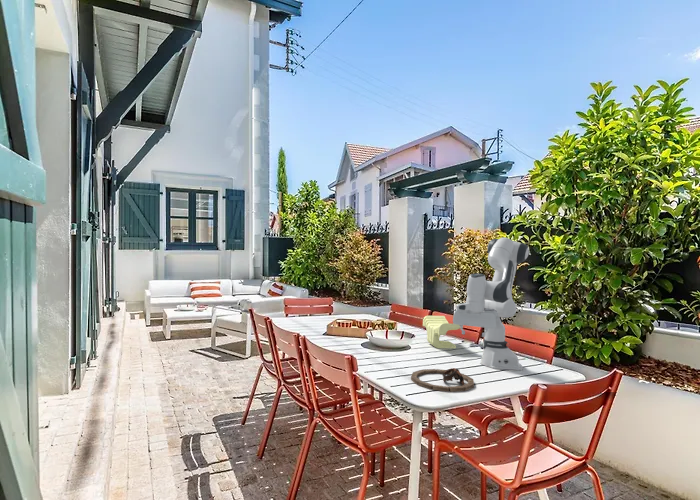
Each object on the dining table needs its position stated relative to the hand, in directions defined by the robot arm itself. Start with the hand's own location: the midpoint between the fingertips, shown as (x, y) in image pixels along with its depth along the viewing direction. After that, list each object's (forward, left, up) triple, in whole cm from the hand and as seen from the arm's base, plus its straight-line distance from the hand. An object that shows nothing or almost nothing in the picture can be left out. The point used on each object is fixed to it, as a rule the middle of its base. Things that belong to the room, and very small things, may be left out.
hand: (473, 335), depth 201 cm
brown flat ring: (+14, +2, -23) cm, 27 cm away
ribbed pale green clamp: (+18, -77, -24) cm, 83 cm away
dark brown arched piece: (+8, +2, -24) cm, 25 cm away
